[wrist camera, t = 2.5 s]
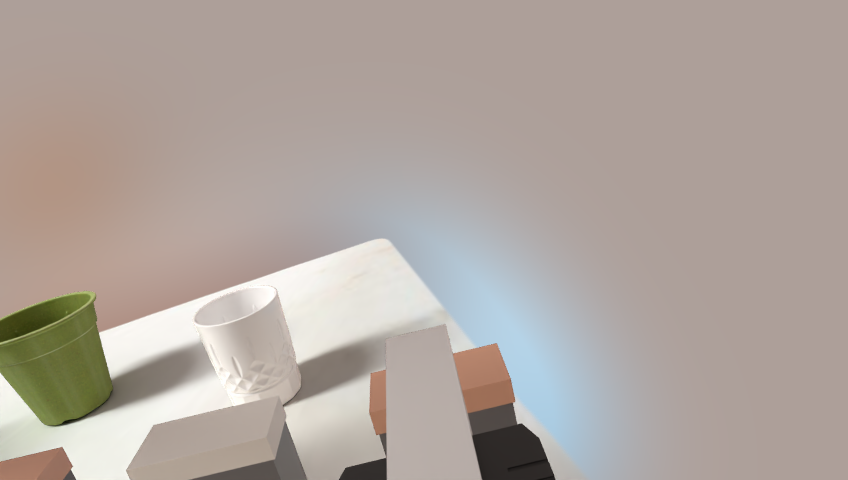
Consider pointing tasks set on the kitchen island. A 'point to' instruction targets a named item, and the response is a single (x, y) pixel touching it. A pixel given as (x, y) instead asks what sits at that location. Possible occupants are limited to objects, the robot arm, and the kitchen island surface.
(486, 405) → the key
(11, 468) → the key
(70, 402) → the plant pot
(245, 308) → the white cup
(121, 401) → the kitchen island surface
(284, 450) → the key middle
